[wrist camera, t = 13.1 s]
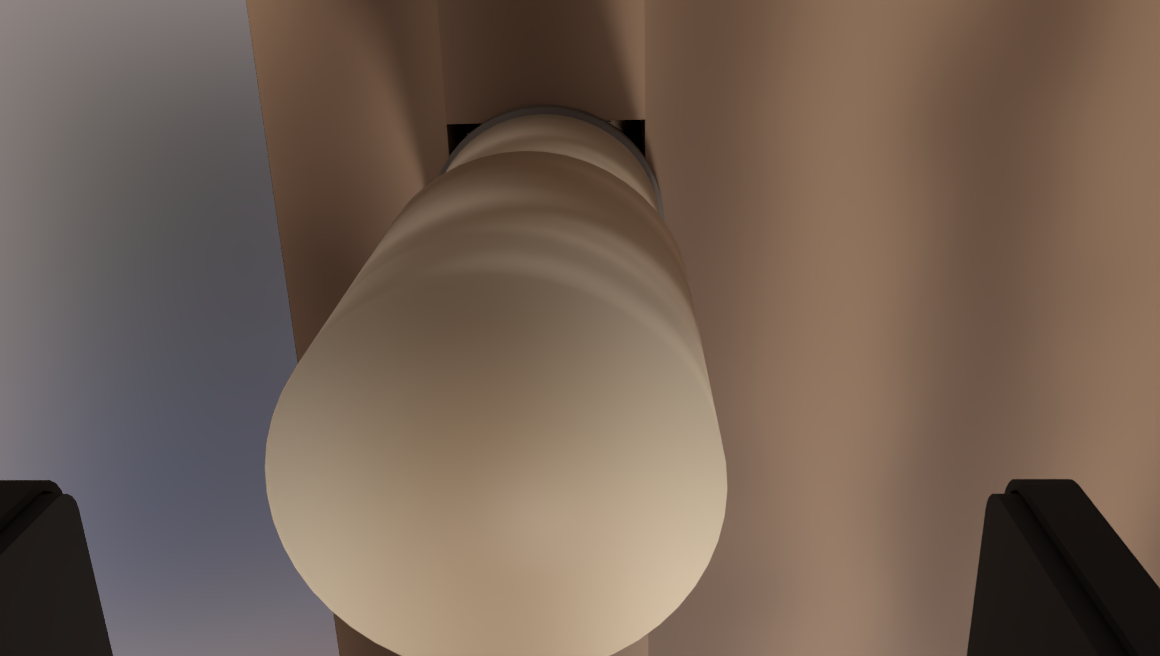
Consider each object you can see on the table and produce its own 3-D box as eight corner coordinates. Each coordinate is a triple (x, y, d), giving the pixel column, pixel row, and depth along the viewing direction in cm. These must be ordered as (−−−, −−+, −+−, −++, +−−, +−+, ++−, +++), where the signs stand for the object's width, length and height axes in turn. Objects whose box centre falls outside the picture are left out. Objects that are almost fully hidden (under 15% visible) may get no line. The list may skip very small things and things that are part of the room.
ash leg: (666, 71, 24) (733, 269, 11) (666, 292, 26) (722, 675, 13) (433, 77, 24) (232, 278, 11) (451, 296, 26) (296, 678, 13)
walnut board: (1371, -105, 23) (1477, -106, 20) (1209, 585, 30) (1271, 656, 27) (280, -71, 24) (236, -68, 21) (365, 592, 30) (340, 662, 28)
